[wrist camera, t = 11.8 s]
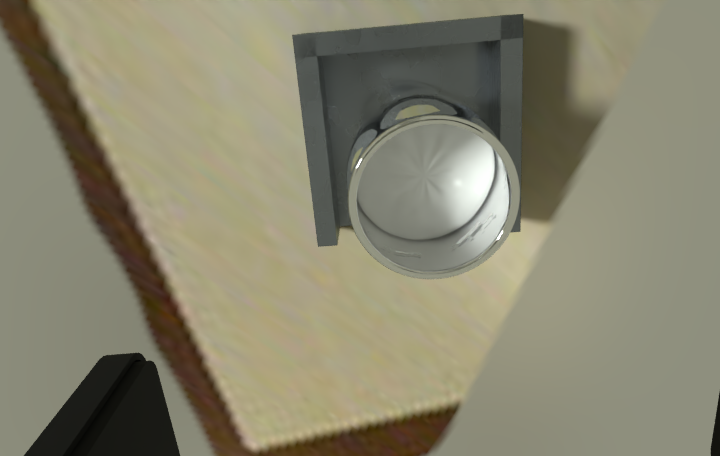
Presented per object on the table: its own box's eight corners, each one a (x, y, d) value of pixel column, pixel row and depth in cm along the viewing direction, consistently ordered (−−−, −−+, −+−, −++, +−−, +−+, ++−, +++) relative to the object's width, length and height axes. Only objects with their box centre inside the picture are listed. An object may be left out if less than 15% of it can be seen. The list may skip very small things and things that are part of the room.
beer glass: (483, 106, 35) (563, 164, 20) (428, 201, 37) (464, 311, 23) (385, 52, 34) (397, 74, 19) (334, 153, 36) (311, 237, 22)
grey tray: (300, 33, 34) (292, 35, 30) (505, 15, 33) (523, 14, 30) (323, 224, 38) (318, 246, 34) (505, 210, 38) (520, 231, 34)
